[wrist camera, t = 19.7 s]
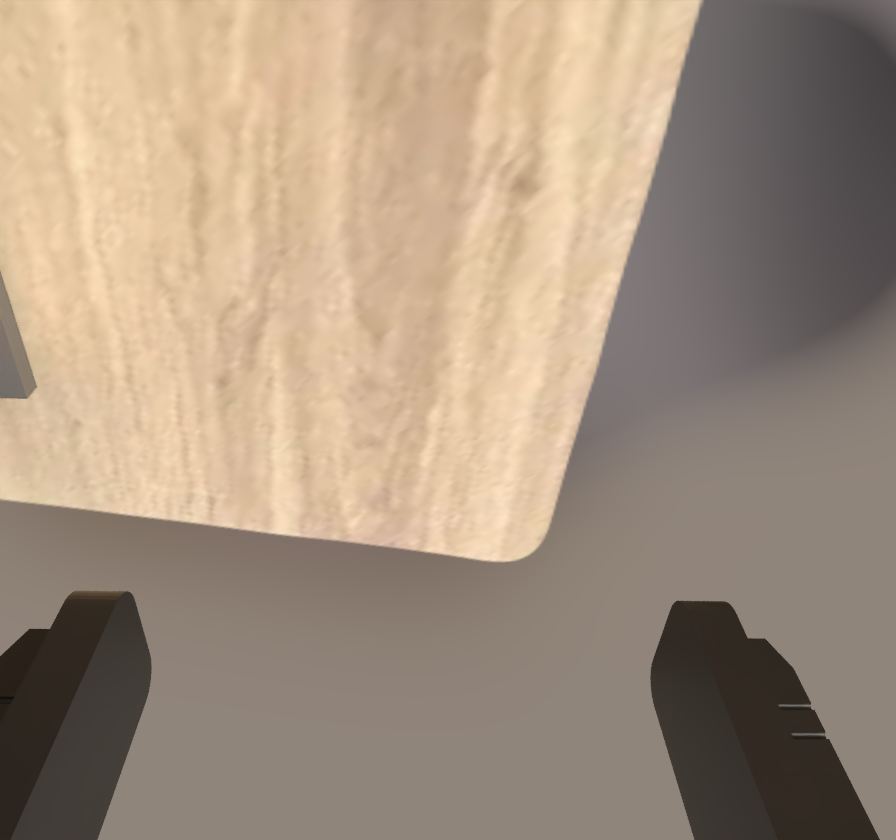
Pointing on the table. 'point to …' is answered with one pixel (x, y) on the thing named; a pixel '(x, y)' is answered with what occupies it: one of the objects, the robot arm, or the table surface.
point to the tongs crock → (12, 354)
